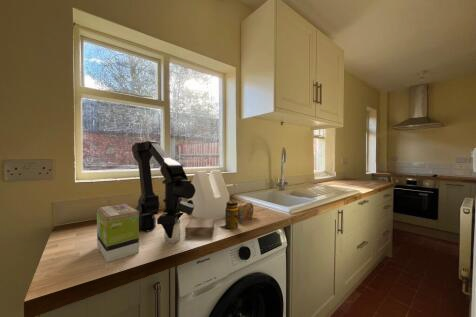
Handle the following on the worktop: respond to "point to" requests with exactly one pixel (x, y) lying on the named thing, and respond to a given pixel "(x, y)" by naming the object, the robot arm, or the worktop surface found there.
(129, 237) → the tea box
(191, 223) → the riser
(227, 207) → the condiment
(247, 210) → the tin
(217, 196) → the white plastic jug
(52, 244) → the worktop surface
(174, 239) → the canister
